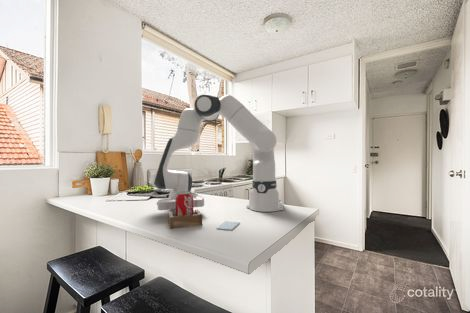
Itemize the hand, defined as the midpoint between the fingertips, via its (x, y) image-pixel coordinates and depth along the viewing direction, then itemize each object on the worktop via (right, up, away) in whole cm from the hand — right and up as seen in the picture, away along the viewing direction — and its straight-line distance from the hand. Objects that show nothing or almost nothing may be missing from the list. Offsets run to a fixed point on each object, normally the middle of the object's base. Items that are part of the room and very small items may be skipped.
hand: (183, 206), depth 94 cm
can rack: (+2, -6, -4) cm, 7 cm away
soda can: (+1, -6, -2) cm, 6 cm away
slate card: (+19, -6, -9) cm, 22 cm away
